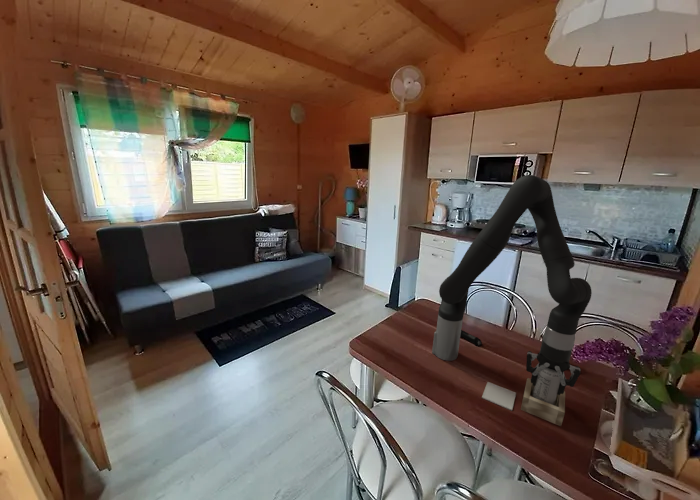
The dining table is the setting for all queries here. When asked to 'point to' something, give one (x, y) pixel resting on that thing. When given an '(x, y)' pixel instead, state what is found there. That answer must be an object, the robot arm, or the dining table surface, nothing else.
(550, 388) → the energy drink can
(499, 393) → the grey pad
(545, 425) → the dining table surface
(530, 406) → the pocket holder
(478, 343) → the electric trimmer
